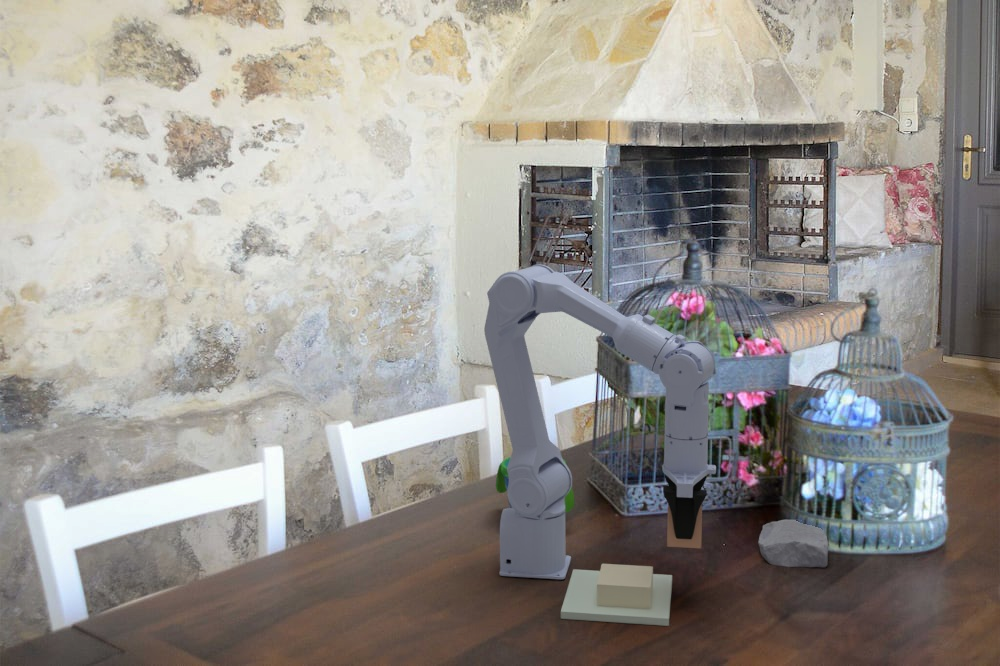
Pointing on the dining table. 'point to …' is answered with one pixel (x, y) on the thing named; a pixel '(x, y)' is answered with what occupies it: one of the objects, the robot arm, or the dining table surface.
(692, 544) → the top brick
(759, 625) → the dining table surface
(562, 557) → the robot arm
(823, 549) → the stone block
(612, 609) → the base plate
